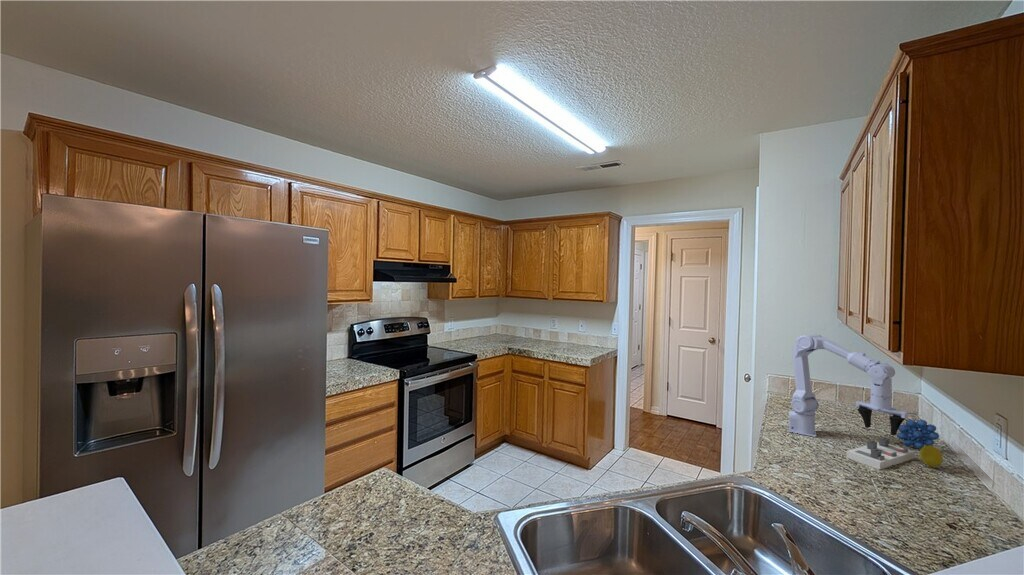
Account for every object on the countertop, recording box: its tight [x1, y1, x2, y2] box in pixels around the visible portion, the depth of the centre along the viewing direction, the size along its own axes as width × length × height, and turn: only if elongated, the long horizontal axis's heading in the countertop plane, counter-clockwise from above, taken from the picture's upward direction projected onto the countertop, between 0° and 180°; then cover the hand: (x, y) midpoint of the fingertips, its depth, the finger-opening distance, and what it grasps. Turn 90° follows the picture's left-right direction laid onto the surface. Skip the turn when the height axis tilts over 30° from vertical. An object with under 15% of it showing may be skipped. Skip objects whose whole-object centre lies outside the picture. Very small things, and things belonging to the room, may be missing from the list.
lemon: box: [919, 445, 944, 468], centre depth 135 cm, size 6×6×8 cm
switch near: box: [871, 449, 881, 459], centre depth 137 cm, size 2×2×3 cm
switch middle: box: [866, 439, 878, 449], centre depth 145 cm, size 2×2×3 cm
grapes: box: [896, 419, 940, 450], centre depth 151 cm, size 12×7×12 cm, turn 50°
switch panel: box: [846, 441, 915, 470], centre depth 143 cm, size 23×10×4 cm, turn 112°
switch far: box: [878, 436, 890, 446], centre depth 148 cm, size 2×2×3 cm
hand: (880, 430), depth 142 cm, fingers open, 7 cm apart
